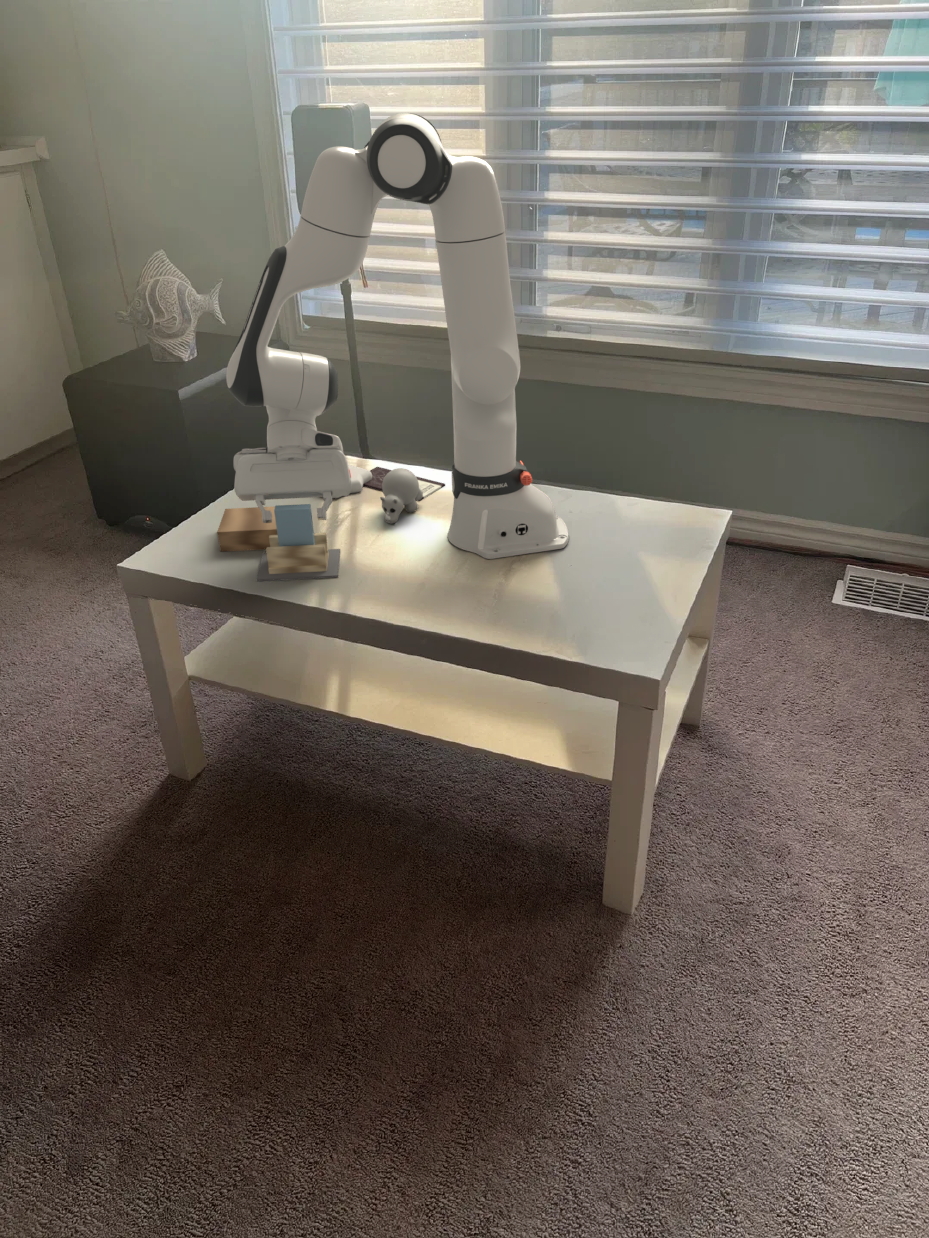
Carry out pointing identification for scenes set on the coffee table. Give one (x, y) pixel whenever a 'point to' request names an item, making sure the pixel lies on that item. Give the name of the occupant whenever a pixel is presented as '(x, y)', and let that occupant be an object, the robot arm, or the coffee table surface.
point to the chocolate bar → (424, 484)
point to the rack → (298, 556)
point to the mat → (330, 573)
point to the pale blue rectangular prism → (294, 525)
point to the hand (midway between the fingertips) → (294, 520)
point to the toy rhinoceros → (399, 493)
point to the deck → (245, 529)
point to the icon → (358, 478)
